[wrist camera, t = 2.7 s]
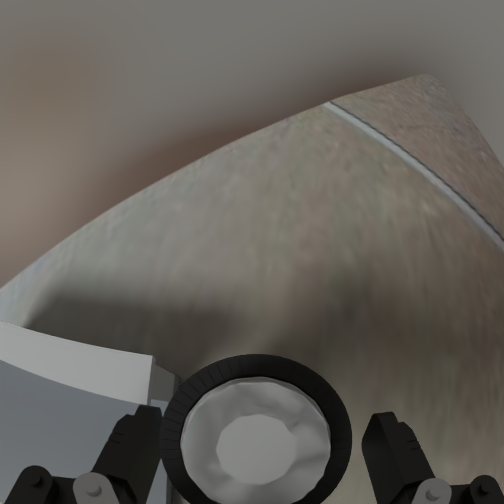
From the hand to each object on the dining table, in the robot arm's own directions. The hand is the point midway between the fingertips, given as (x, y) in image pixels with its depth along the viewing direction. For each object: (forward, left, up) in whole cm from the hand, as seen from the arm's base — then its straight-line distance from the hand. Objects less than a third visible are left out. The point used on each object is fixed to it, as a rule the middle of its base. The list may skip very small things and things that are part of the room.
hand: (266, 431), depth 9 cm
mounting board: (+12, +5, -6) cm, 14 cm away
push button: (0, +1, -6) cm, 6 cm away
